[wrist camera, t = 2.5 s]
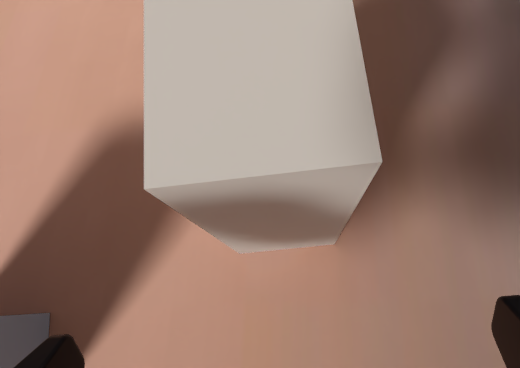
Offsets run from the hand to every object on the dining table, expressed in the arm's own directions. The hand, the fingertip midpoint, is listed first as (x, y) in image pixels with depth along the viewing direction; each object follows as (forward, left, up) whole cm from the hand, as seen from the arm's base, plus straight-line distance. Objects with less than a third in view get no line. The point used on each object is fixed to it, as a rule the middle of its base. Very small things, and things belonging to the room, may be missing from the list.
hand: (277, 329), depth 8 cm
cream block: (+5, +2, -12) cm, 13 cm away
